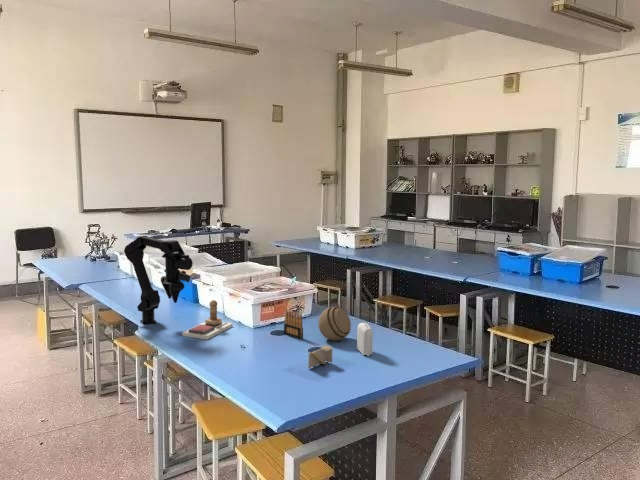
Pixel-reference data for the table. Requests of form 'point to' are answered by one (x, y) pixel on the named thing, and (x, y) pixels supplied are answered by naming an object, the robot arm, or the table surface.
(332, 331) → the brown grooved ball
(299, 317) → the ammunition clip
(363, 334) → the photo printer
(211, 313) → the stamp
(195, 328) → the ink pad
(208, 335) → the stamping board
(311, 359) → the model
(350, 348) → the table surface
